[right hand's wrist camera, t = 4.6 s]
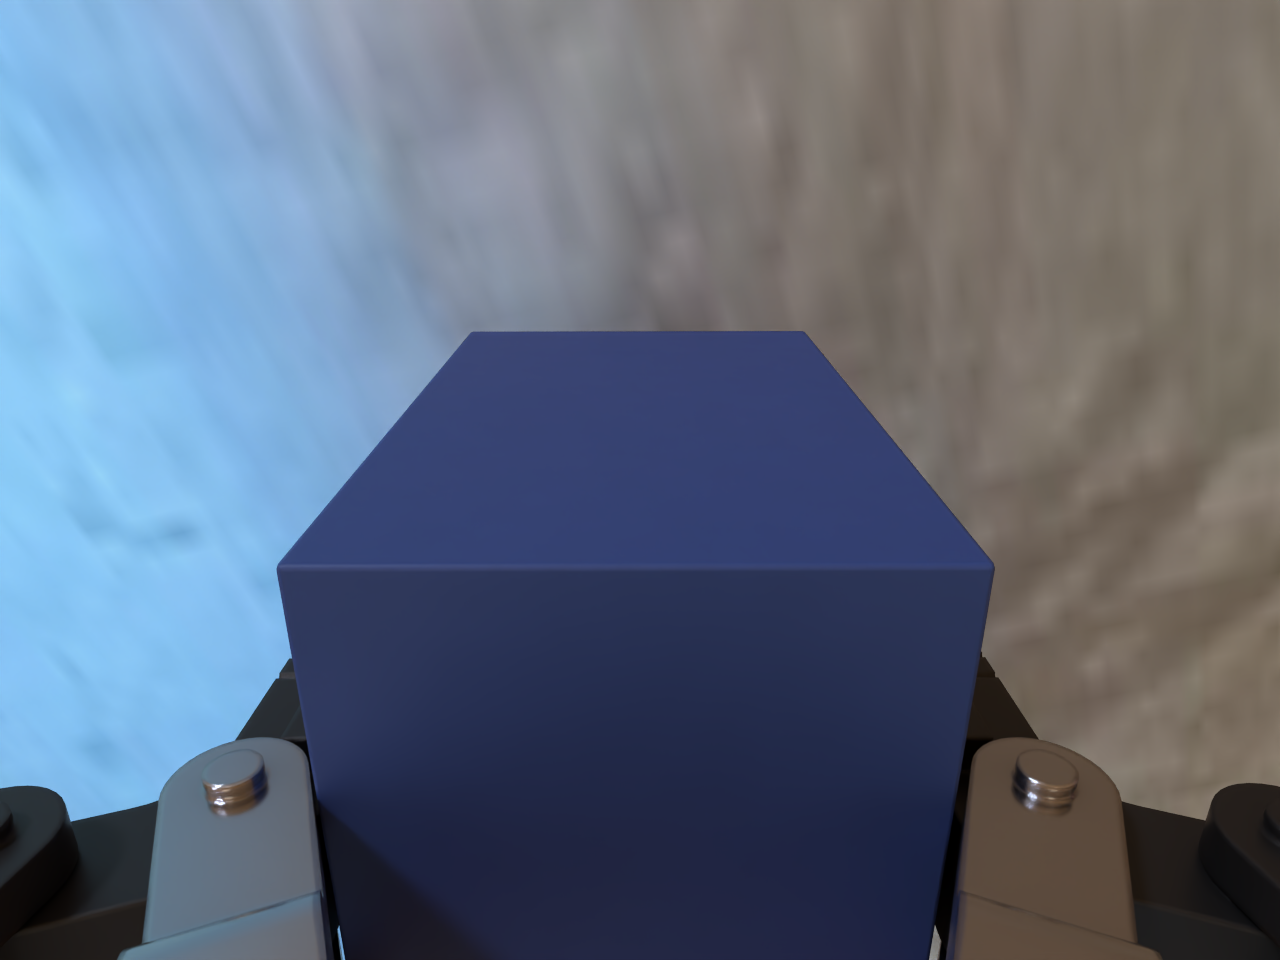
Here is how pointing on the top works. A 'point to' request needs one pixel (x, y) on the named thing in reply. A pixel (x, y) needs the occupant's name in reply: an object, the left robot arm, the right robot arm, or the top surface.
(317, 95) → the top surface
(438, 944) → the bar
